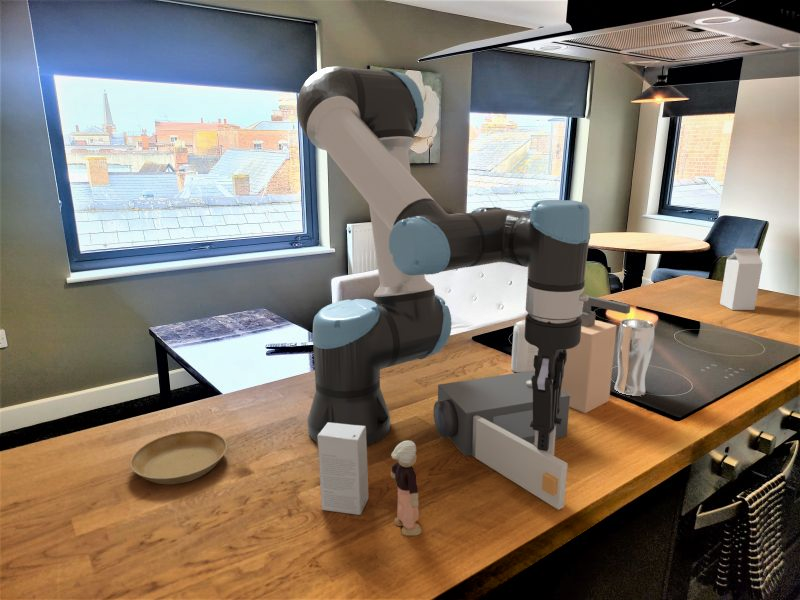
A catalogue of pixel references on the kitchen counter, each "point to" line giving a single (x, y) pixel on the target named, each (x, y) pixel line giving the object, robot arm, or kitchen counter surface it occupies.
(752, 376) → the kitchen counter surface
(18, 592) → the kitchen counter surface
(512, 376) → the camera housing
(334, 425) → the skincare box
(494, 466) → the side door
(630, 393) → the beer glass
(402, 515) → the grandmother figurine
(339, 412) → the robot arm
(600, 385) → the soap dispenser
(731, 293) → the milk carton
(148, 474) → the plant saucer
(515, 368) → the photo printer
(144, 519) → the kitchen counter surface
